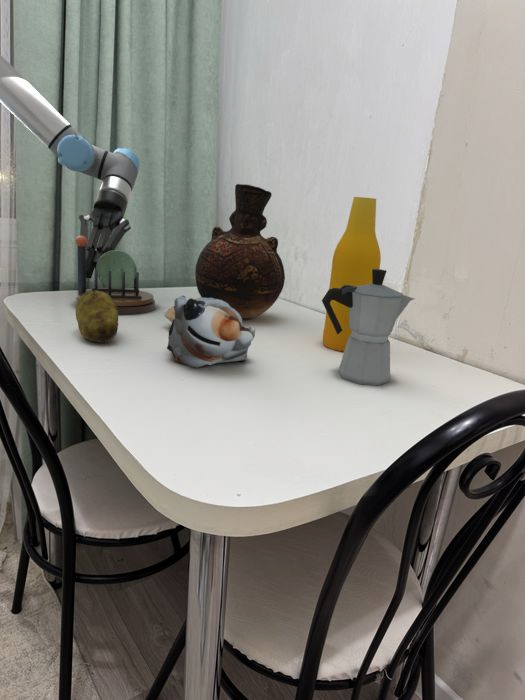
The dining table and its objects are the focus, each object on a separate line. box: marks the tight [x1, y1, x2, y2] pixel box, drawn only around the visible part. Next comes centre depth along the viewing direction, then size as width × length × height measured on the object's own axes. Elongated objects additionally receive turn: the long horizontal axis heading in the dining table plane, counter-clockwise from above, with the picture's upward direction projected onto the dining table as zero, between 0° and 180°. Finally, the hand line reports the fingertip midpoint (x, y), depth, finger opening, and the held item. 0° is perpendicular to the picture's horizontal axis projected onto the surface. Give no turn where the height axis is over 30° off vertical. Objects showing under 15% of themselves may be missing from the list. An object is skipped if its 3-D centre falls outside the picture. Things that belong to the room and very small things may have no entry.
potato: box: [75, 291, 119, 344], centre depth 93 cm, size 8×13×8 cm, turn 9°
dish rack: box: [74, 235, 155, 306], centre depth 117 cm, size 18×17×14 cm
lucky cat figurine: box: [166, 294, 256, 369], centre depth 83 cm, size 15×12×14 cm
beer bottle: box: [322, 196, 382, 353], centre depth 98 cm, size 9×9×29 cm
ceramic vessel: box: [194, 183, 286, 319], centre depth 116 cm, size 21×18×30 cm
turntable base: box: [75, 296, 156, 316], centre depth 120 cm, size 18×18×2 cm
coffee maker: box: [321, 268, 415, 386], centre depth 82 cm, size 15×9×18 cm, turn 92°
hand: (86, 274), depth 118 cm, fingers closed
